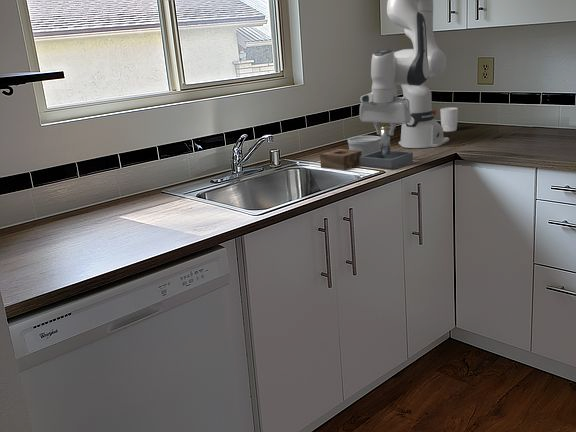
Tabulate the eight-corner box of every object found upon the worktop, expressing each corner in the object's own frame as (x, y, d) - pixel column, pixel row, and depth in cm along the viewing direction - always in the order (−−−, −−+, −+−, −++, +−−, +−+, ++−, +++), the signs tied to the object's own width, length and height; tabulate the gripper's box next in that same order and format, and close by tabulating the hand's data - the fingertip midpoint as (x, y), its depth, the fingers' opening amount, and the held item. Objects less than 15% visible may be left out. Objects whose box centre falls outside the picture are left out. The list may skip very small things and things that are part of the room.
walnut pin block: (339, 161, 245) (338, 148, 243) (362, 163, 237) (361, 150, 236) (320, 167, 237) (319, 154, 236) (343, 170, 230) (343, 156, 228)
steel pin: (384, 153, 235) (383, 126, 232) (392, 153, 233) (391, 126, 230) (379, 154, 232) (378, 127, 230) (386, 155, 230) (386, 128, 227)
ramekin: (370, 150, 260) (369, 134, 258) (388, 155, 249) (387, 137, 247) (342, 155, 255) (341, 138, 253) (359, 160, 244) (358, 142, 242)
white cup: (438, 132, 290) (438, 110, 287) (442, 129, 297) (441, 107, 294) (456, 131, 287) (456, 109, 284) (459, 128, 294) (459, 107, 291)
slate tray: (381, 158, 243) (381, 149, 242) (412, 161, 234) (412, 152, 233) (359, 166, 234) (359, 156, 233) (391, 169, 224) (391, 160, 223)
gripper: (414, 96, 222) (414, 135, 226) (366, 95, 236) (367, 132, 240) (404, 98, 218) (404, 138, 221) (356, 97, 231) (357, 134, 235)
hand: (385, 134), depth 231 cm, fingers closed on steel pin, 3 cm apart
